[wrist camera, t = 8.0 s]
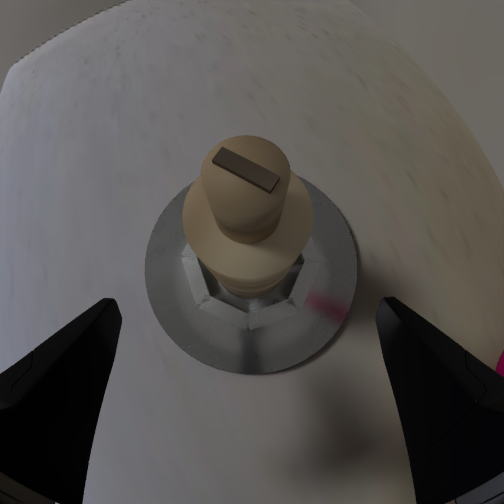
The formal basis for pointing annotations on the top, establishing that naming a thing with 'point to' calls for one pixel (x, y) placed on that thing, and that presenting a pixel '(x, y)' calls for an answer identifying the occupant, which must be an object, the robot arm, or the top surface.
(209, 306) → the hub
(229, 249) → the knob
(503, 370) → the pepper mill
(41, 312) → the top surface
